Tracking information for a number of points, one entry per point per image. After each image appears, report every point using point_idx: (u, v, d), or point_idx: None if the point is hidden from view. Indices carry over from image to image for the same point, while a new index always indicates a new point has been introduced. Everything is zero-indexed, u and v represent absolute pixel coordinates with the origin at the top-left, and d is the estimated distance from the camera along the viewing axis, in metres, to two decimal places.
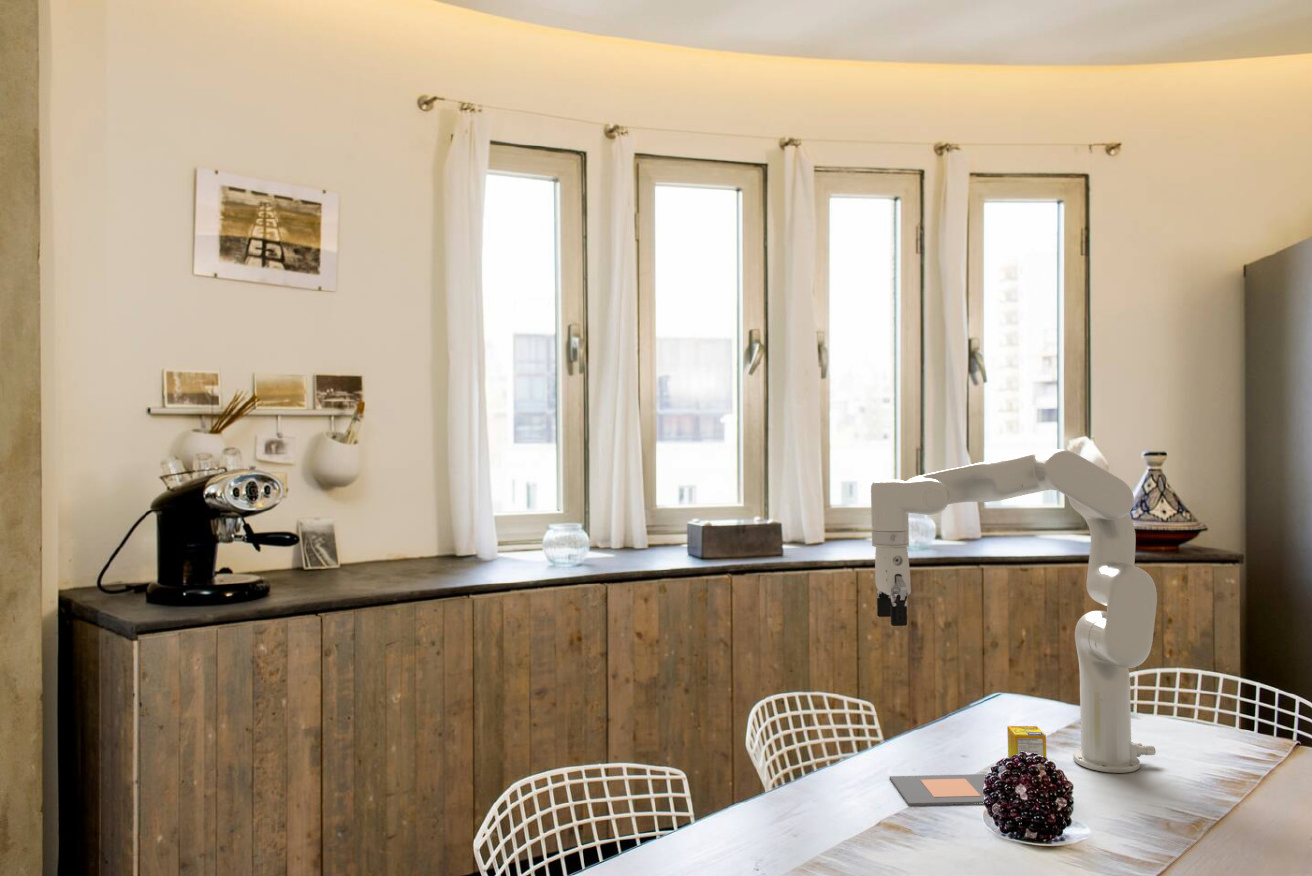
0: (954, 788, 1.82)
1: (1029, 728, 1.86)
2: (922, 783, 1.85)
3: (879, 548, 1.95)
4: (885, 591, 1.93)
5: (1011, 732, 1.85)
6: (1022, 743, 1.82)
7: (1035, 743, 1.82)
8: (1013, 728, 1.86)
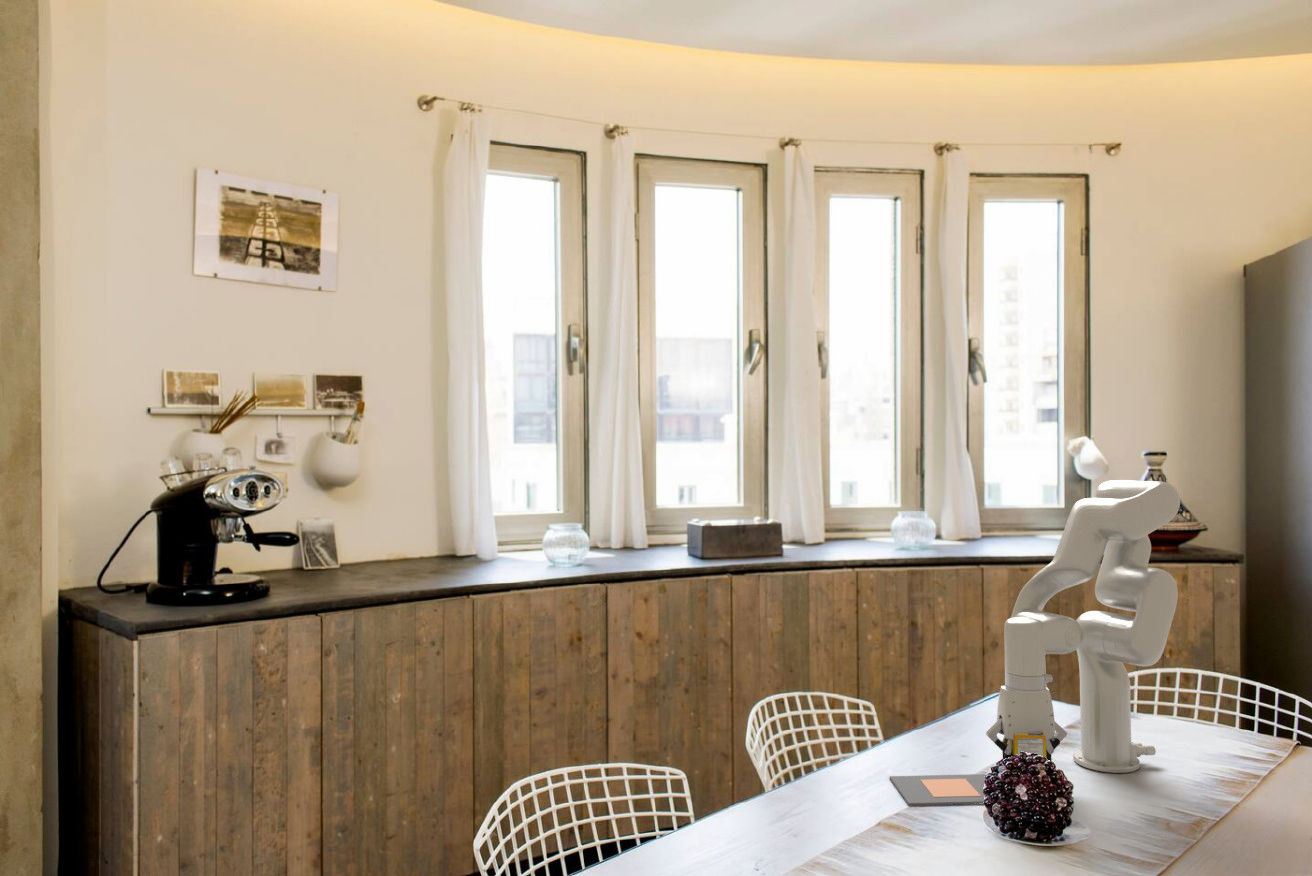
0: (954, 788, 1.82)
1: None
2: (922, 783, 1.85)
3: (1034, 694, 1.82)
4: None
5: None
6: (1022, 743, 1.82)
7: (1035, 743, 1.82)
8: None
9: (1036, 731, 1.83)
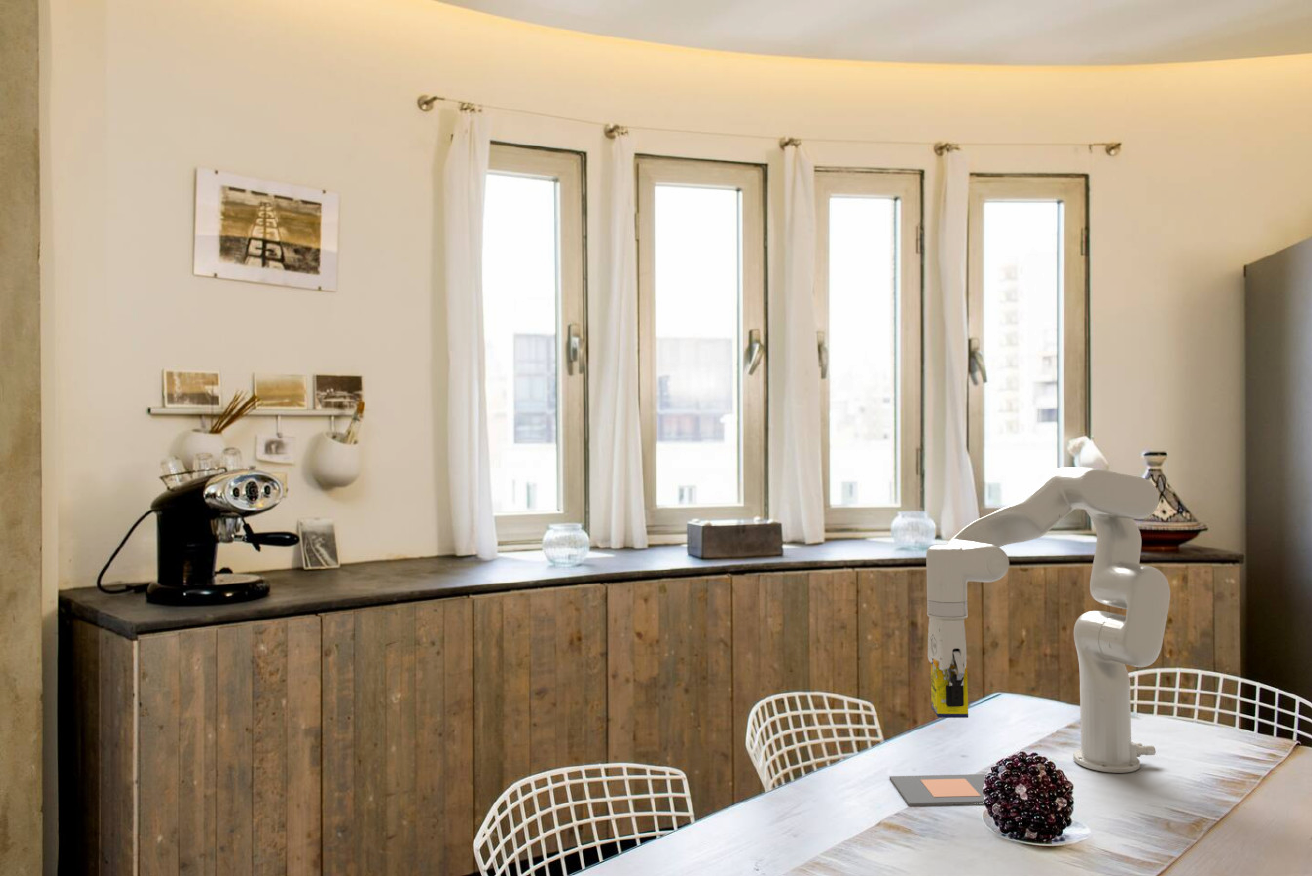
0: (954, 788, 1.82)
1: None
2: (922, 783, 1.85)
3: None
4: None
5: None
6: None
7: None
8: None
9: None
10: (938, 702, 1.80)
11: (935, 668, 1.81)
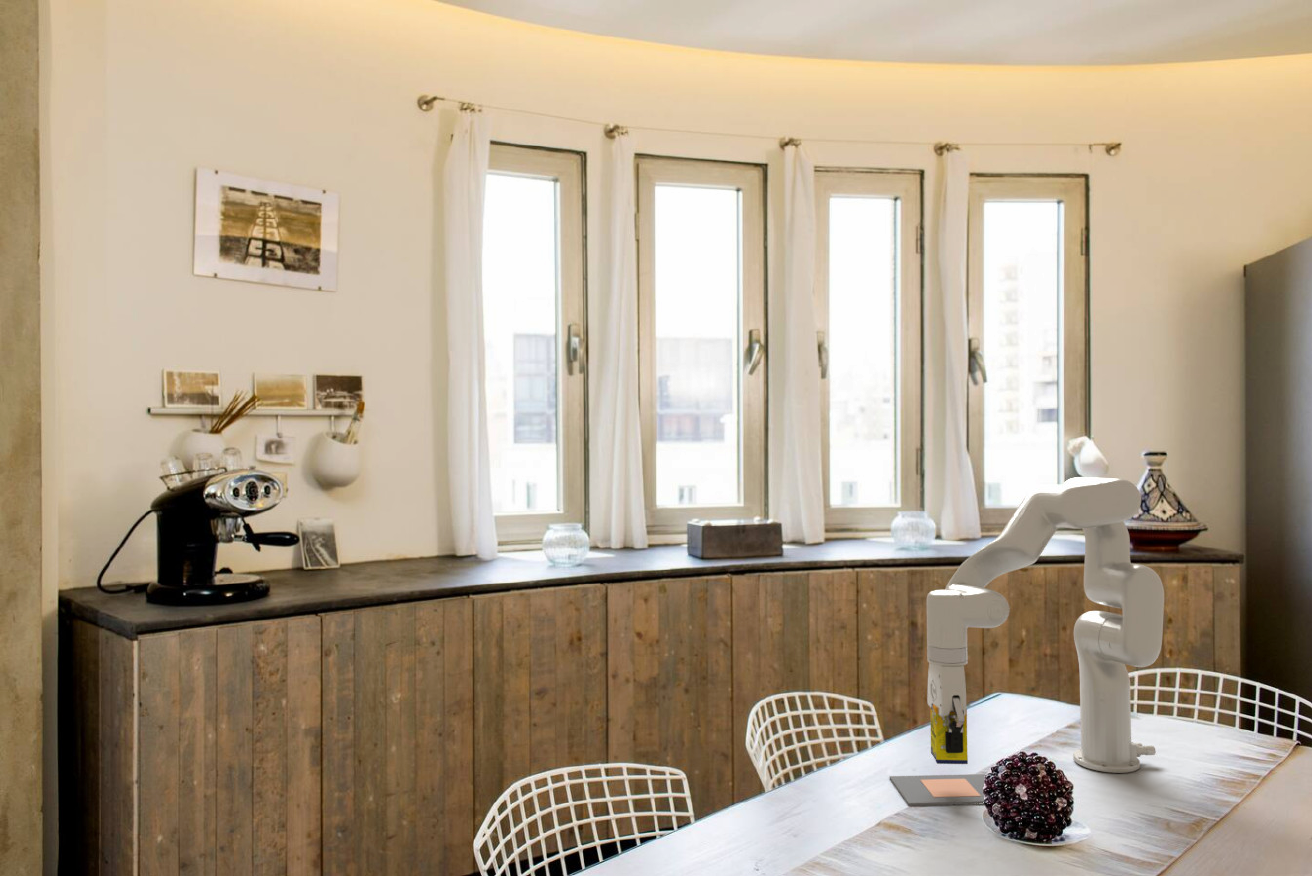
0: (954, 788, 1.82)
1: None
2: (922, 783, 1.85)
3: None
4: None
5: None
6: None
7: None
8: None
9: None
10: (937, 748, 1.80)
11: (935, 714, 1.81)
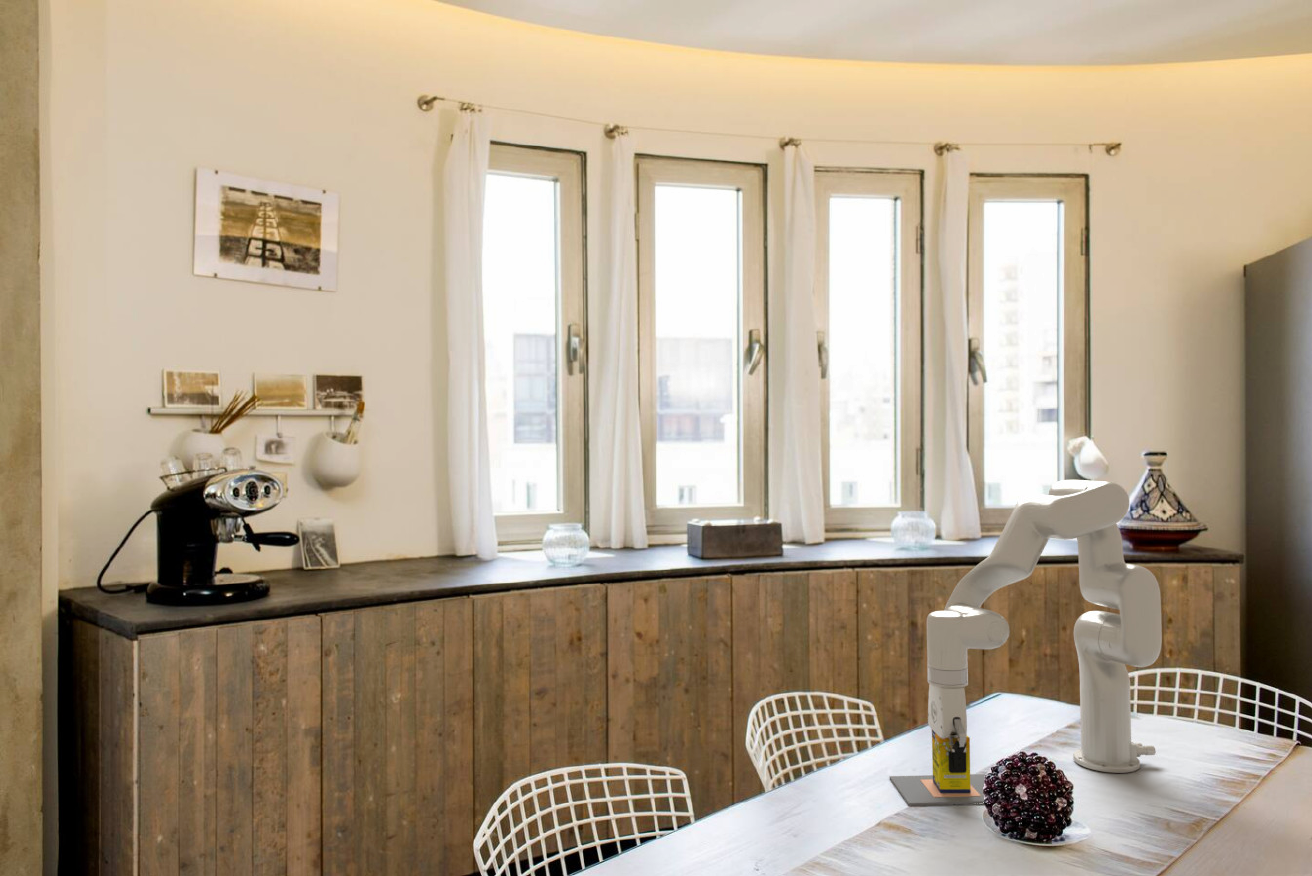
0: None
1: None
2: (922, 783, 1.85)
3: None
4: None
5: None
6: None
7: None
8: None
9: None
10: (941, 778, 1.80)
11: (938, 743, 1.80)
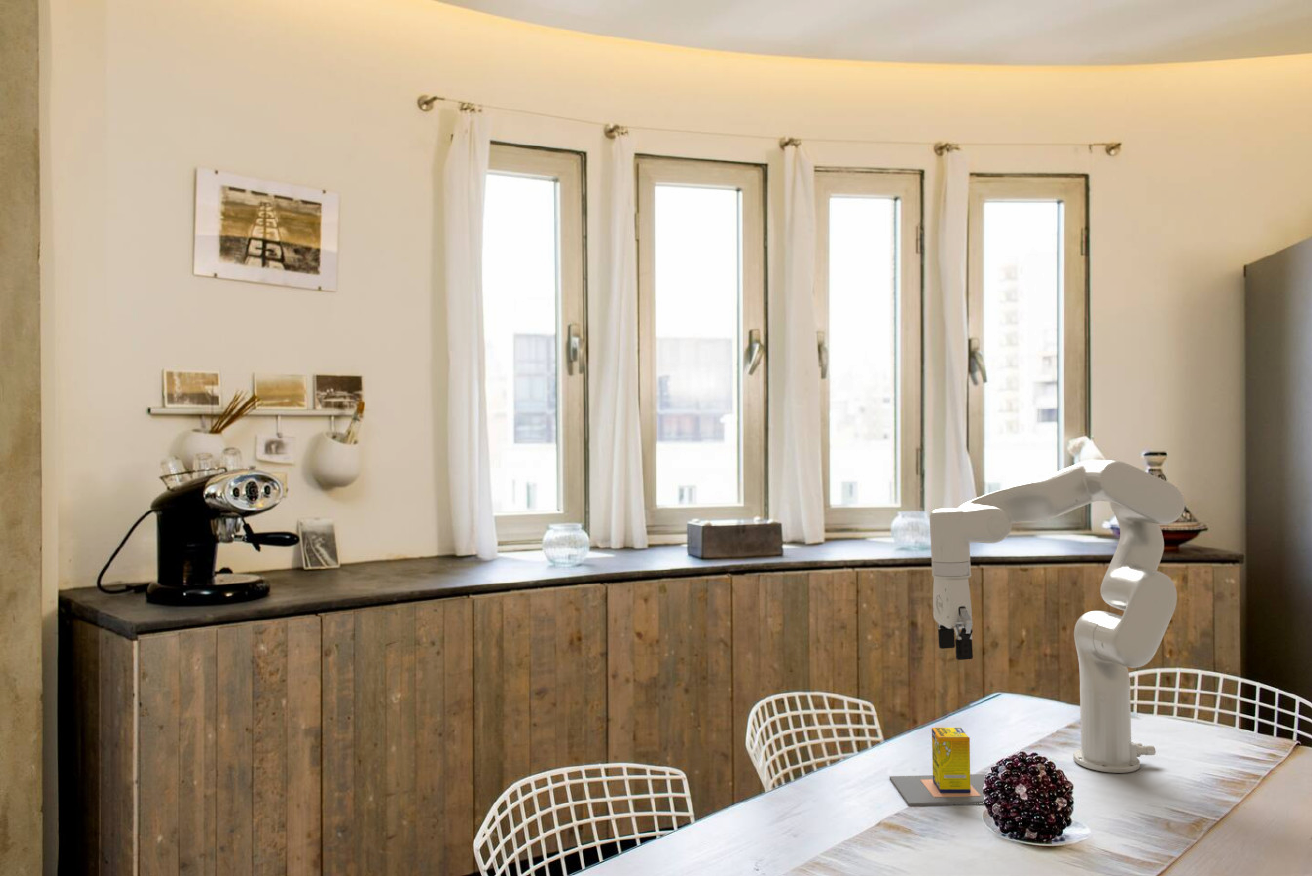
0: None
1: (944, 730, 1.83)
2: (922, 783, 1.85)
3: None
4: None
5: (955, 739, 1.80)
6: None
7: None
8: (949, 735, 1.80)
9: None
10: (941, 778, 1.80)
11: (938, 743, 1.80)
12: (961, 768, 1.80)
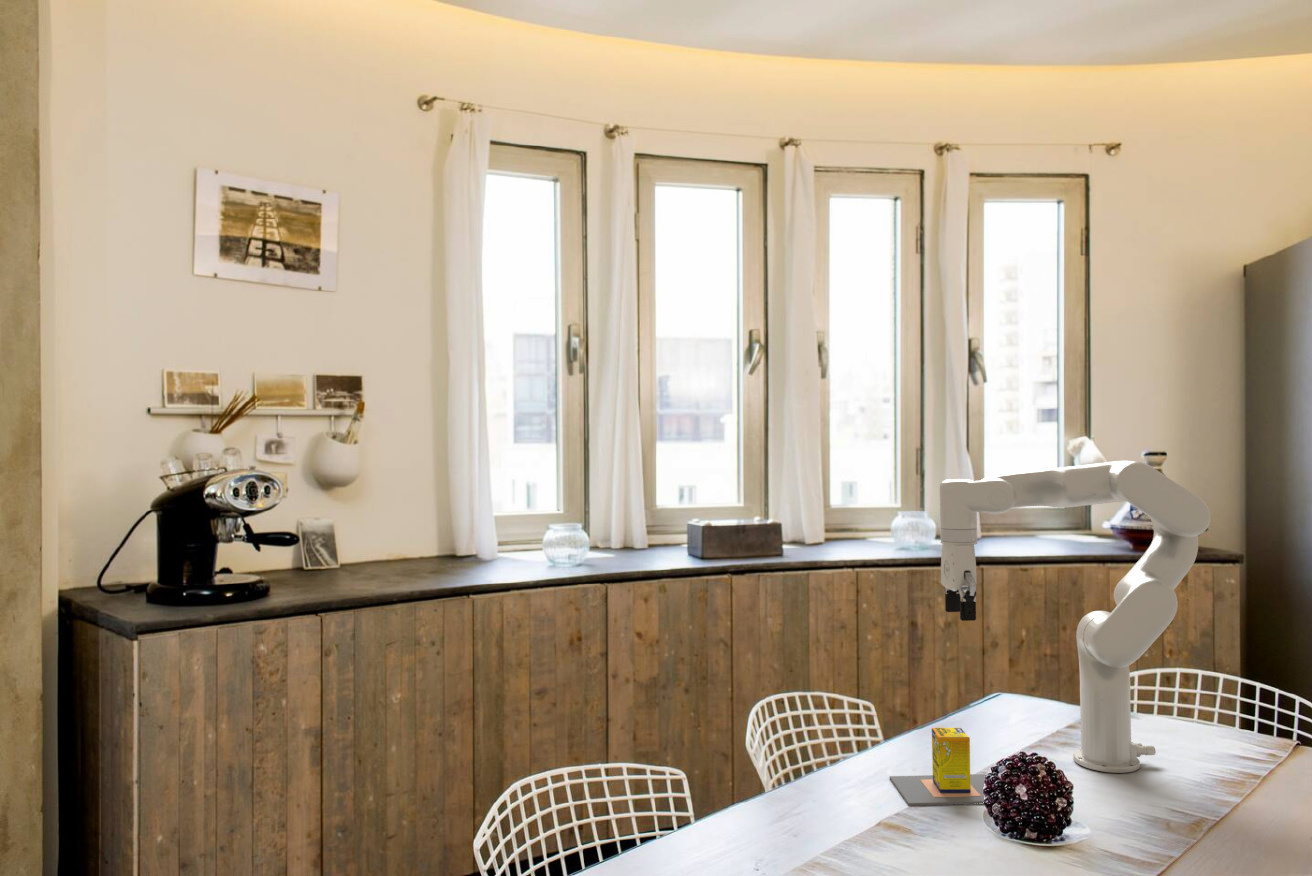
0: None
1: (944, 730, 1.83)
2: (922, 783, 1.85)
3: None
4: None
5: (955, 739, 1.80)
6: None
7: None
8: (949, 735, 1.80)
9: None
10: (941, 778, 1.80)
11: (938, 743, 1.80)
12: (961, 768, 1.80)
